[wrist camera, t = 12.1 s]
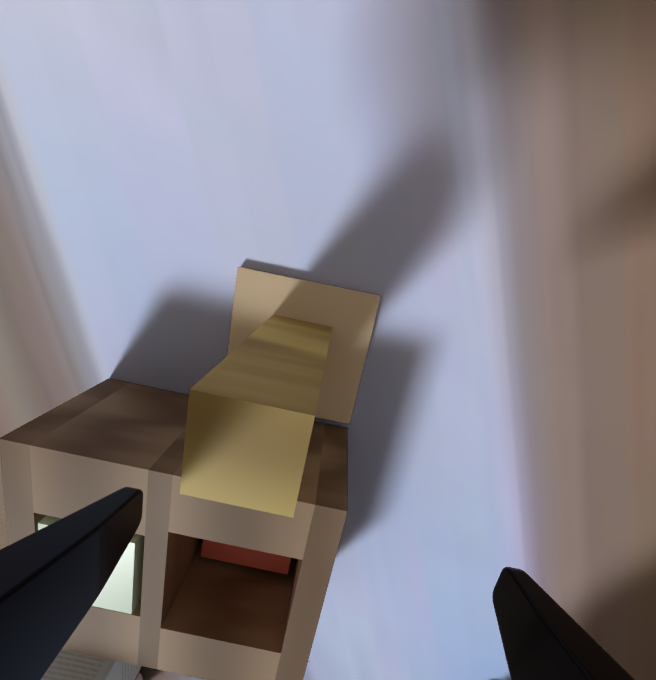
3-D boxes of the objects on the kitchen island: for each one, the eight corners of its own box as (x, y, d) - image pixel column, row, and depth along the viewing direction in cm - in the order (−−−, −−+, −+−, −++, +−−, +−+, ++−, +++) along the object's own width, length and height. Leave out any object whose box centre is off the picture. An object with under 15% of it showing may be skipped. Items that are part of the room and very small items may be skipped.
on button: (172, 490, 16) (134, 543, 13) (167, 553, 17) (131, 614, 14) (93, 474, 16) (37, 522, 13) (92, 537, 17) (42, 595, 14)
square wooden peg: (320, 381, 17) (293, 517, 9) (264, 369, 17) (179, 494, 9) (332, 327, 16) (315, 416, 8) (273, 314, 16) (189, 389, 8)
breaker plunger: (308, 474, 19) (303, 503, 17) (293, 540, 20) (287, 574, 18) (225, 456, 19) (209, 483, 17) (216, 524, 20) (200, 556, 18)
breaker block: (347, 428, 18) (347, 511, 13) (311, 576, 21) (297, 698, 16) (108, 378, 18) (-2, 439, 13) (106, 533, 21) (16, 639, 16)
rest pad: (379, 295, 16) (380, 296, 16) (349, 420, 18) (349, 424, 18) (240, 266, 16) (237, 267, 16) (224, 394, 18) (221, 397, 18)
